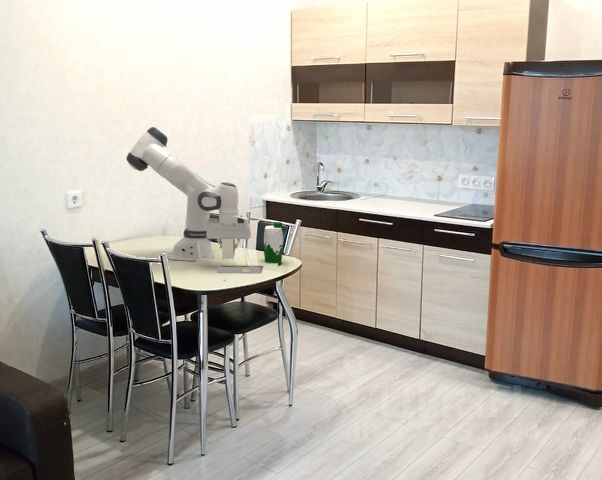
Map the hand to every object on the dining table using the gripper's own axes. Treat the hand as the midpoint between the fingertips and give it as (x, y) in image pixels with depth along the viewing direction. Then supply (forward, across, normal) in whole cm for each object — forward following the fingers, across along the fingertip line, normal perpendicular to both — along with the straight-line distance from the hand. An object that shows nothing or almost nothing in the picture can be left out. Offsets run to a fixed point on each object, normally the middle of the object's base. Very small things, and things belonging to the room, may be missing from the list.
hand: (228, 248), depth 292 cm
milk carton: (+10, +20, +14) cm, 27 cm away
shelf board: (+10, +6, -2) cm, 12 cm away
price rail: (+9, +6, -9) cm, 14 cm away
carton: (+4, 0, 0) cm, 4 cm away
